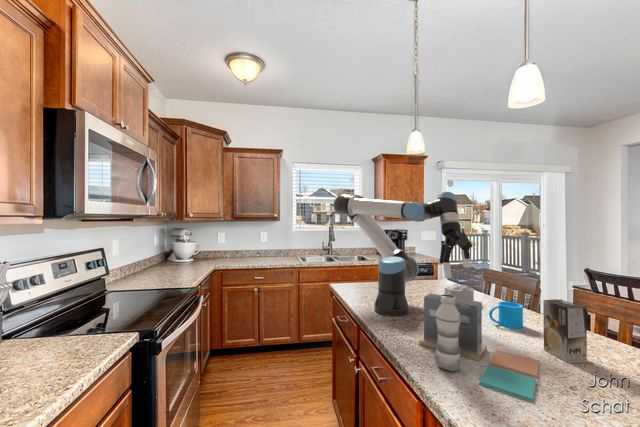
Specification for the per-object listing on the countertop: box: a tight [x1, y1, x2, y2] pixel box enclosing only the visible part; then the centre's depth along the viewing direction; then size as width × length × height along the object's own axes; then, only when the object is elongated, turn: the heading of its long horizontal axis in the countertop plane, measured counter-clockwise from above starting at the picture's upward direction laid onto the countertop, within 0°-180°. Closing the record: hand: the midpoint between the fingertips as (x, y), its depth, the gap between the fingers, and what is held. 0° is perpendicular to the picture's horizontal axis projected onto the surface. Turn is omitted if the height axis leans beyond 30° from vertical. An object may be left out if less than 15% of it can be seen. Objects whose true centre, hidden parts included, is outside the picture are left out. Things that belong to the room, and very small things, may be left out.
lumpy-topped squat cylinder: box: [443, 283, 475, 301], centre depth 148 cm, size 10×13×9 cm
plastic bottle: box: [434, 293, 462, 372], centre depth 83 cm, size 6×7×20 cm
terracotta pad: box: [488, 348, 541, 380], centre depth 86 cm, size 11×11×1 cm
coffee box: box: [542, 298, 588, 364], centre depth 91 cm, size 9×6×16 cm
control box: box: [418, 293, 488, 362], centre depth 97 cm, size 18×10×16 cm, turn 51°
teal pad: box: [478, 364, 537, 403], centre depth 76 cm, size 11×11×1 cm
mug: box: [488, 301, 524, 330], centre depth 118 cm, size 12×8×8 cm
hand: (457, 273), depth 118 cm, fingers open, 13 cm apart
